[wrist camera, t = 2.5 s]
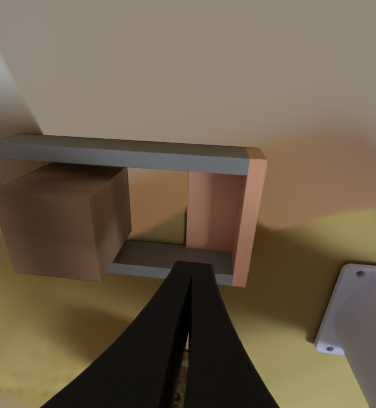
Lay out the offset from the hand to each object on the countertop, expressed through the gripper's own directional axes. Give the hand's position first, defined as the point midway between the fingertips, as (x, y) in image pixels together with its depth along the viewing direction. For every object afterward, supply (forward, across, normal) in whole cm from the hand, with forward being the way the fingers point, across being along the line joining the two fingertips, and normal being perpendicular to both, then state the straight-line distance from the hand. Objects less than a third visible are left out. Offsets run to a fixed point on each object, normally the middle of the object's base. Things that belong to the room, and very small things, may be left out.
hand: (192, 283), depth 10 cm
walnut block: (+7, +7, 0) cm, 10 cm away
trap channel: (+7, +4, 0) cm, 8 cm away
